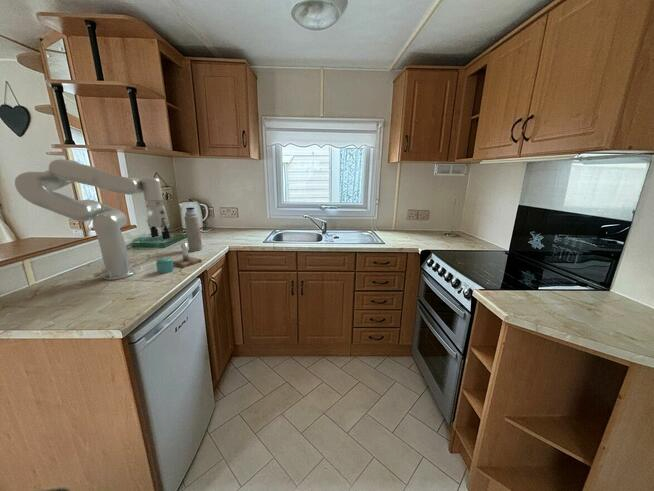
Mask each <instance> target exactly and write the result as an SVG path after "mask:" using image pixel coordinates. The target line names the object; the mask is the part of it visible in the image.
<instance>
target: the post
mask: <svg viewBox="0 0 654 491" xmlns="http://www.w3.org/2000/svg"><path fill="white" fill-rule="evenodd" d="M180 248H181V254H182V259H183V261H189V257H190V256H189V255H190V254H189V246H188V242H182V243H180Z"/></svg>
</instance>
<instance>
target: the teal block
mask: <svg viewBox="0 0 654 491" xmlns="http://www.w3.org/2000/svg"><path fill="white" fill-rule="evenodd" d="M173 261H174V260H173V259H172V258H171V257H164V258H163V257H162V258H160V259H156V262H155V264H156V268H157V269H156V270H157V273H158V274H168V273H171V272H173V271H174V269H175V267H174V266H175V265H173Z"/></svg>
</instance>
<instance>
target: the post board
mask: <svg viewBox="0 0 654 491" xmlns="http://www.w3.org/2000/svg"><path fill="white" fill-rule="evenodd" d="M199 263H202V259H201V258H197V257H192V256H189V261H183V258H180V259H176V260H173V266H177V267H180V268H183V269H184V268H186V267H190V266H193V265H197V264H199Z"/></svg>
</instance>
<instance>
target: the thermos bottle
mask: <svg viewBox="0 0 654 491" xmlns="http://www.w3.org/2000/svg"><path fill="white" fill-rule="evenodd" d="M185 211H186V212H185V213H184V215H185V216H184V224H185V230H186V231H185V232H186V239H187V247H188V252H199V251H202V250H203V244H202V237H201V229H200V220H199V215H198V214H197V212H196V210H195V207H185Z"/></svg>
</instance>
